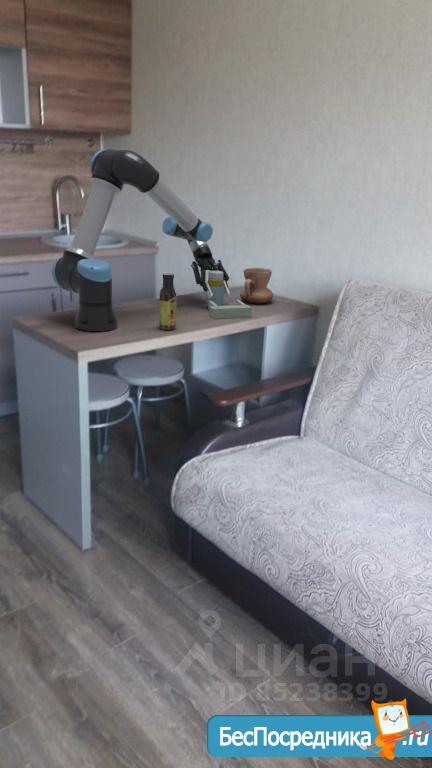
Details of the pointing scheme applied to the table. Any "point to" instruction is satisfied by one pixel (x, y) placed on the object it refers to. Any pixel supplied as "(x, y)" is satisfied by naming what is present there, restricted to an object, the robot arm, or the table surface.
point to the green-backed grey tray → (229, 310)
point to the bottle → (216, 287)
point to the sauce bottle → (167, 303)
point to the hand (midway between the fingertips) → (219, 296)
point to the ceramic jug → (256, 285)
